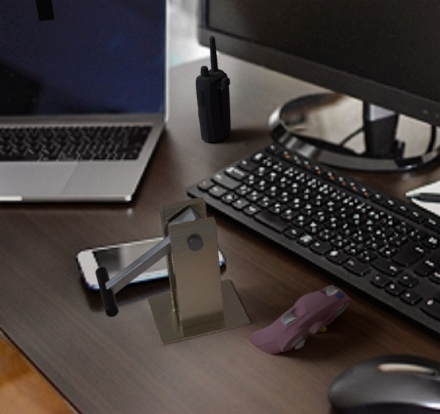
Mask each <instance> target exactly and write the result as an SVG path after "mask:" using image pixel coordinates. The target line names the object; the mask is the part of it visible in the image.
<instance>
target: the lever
mask: <svg viewBox="0 0 440 414" xmlns="http://www.w3.org/2000/svg"><path fill="white" fill-rule="evenodd" d="M199 219H201V218H200V217H199V216H198V215H197V214H196V213H195V211H194V210H193V209H192V208H191V207H190V208H189V209H188V210H186V211H185V212H184V213H182V214H181V215H180V216H178V217H177V218H176V219H174V220H173V221H172V222H170V223H169V224H168V226H169V225H174V224H179V223H184V222H189V221H194V220H199ZM170 252H171V248H170V240H169V235H168V236H167V237H166V238H164V239H163V238H162V240H161V241H159V242H157V243H156V244H155V245H154V246H153V247H151V248H150V249H148V250H147V251H146V252H144V253H143V254H142V255H140V256H139V257H138V258H137V259H135V260H134V261H133V262H132V263H130V264H129V265H127V266H126V267H125V268H123V269H122V270H120V271H119V272H118V273H117V274H115V275H114V276H113V277H110V275H109V274H110V273H109V271H108V268H107V267H106V266H99V267H97V268H96V269H95V273H94V274H95V277H96V281H97V285H98V289H99V293H100V298H101V301H102V304H103V308H104V309H103V310H104V312H105V315H106V316H107V317H108V318H114V317H116V316H118V314H119V313H120V311H119V306H118V302H117V300H116V296H115V295H116V294H117V293H118V292H119V291H121V290H122V289H123V288H124V287H126V286H127V285H129V284H130V283H131V282H132V281H134V280H135V279H136V278H138V277H139V276H141V275H142V274H143V273H145V272H146V271H147V270H149V269H150V268H151V267H152V266H154V265H155V264H156V263H158V262H159V261H160V260H162V259H163V258H164V257H166V255H167V254H168V253H170Z"/></svg>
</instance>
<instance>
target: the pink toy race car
mask: <svg viewBox="0 0 440 414" xmlns="http://www.w3.org/2000/svg"><path fill="white" fill-rule="evenodd" d="M351 303H352V299H351V297H349V295H348V294H347V293H346V292H345V291H344V290H343V289H342V288H339V287H337V286H335V285H334V284H330V285H327V286H326V287H324V288H322V289H319V290H317V291H314V292H313V291H312V292H309V293H306V294H303V295H301V297H299V299H297V300H296V302H295V303H294V305H293V306H292V307H290V308H289V309H288V310H287V311H285V312H284V313H282V314H281V315H280V316H279V317H278V318H277V319H275V321H273V322H272V323H271V324H270V325H268V326H266V327H263V328H259V329H257V330H255V331H253V333H252V334H251V336H250V342H251V344H252V346H254V347H255V348H256V349H257V350H259V351H261V352H263V353H265V354H268V355H276V354H280V353H281V352H282V353H285V352H289V351H292V350H293V349H294V350H299V349H301V348H302V347H303V346H304V345H305V342H306V340H308V338H309V335H308V333H309V332H310V333H311V334H313V335H315V334H317V333H318V332H320V333H324V332H326V331H327V329H328V328H327V326H329V325H330V324H332V322H334V321H335V319H337V318H338V317H339V316H340V315H341V314H342V313H343V312H345V311H346V310H347V309H348V308H349V306H350V305H351Z"/></svg>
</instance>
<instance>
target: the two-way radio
mask: <svg viewBox="0 0 440 414" xmlns="http://www.w3.org/2000/svg"><path fill="white" fill-rule="evenodd" d="M209 59H210V60H209V61H210V69H209V67H208V66H207V65H201V66H200V74H199V75H197V76H196V78H195V91H196V92H195V94H196V103H197V116H198V122H199V128H200V129H199V131H200V138H201V140H202V141H203V142H206V143H213V144H214V143H215V142H220V141H221V140H223V139H224V138H226V137H228V136H229V135H230V134H231V133H232V118H231V117H232V115H231V95H230V94H231V92H230V85H231V79H230V77H229V76H228V73H226V72H225V71H224V70H223V69H219V62H218V51H217V42H216V37H215V36H214V35H210V36H209Z"/></svg>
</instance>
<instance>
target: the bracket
mask: <svg viewBox="0 0 440 414" xmlns="http://www.w3.org/2000/svg"><path fill="white" fill-rule="evenodd" d="M158 207H159V215H160V223H161V231H162V240H163V239H164V238H166V237H167V236H168V235H169V240H170V248H171V252H170V253H168V254H167V255H166V256H165V262H166V271H167V278H168V286H169V292H164V293H160V294H155V295H151V296H146V301H147V304H148V307H149V310H150V313H151V317H152V319H153V323H154V326H155V328H156V331H157V334H158V337H159V340H160V344H161V345H162V346H165V345H170V344H173V343H178V342H182V341H186V340H190V339H195V338H199V337H203V336H208V335H211V334H215V333H220V332H223V331H227V330H232V329H236V328H240V327H244V326H248V325H251V321H250V319H249V316H248V315H247V313H246V310H245V308H244V306H243V305H242V302H241V301H240V298H239V296H238V294H237V292H236V291H235V287H234V286H233V284H232V282H231V280H230V278H227V279H222V275H221V265H220V264H221V262H220V251H219V242H218V241H219V240H218V229H217V228H218V227H217V221H216V219H215V216H209V217H208V214H207V203H206V199H205V198H204V196H201V197H195V198H190V199H185V200H180V201H179V200H178V201H175V202H170V203H164V204H160V205H159V206H158ZM190 207H191V208H192V209H193V210H194V211H195V213H196V214H197V215H198V216H199V217H200V218H201V219H199V220H194V221H189V222H184V223H179V224H174V225H169V226H168V224H169V223H170V222H172V221H173V220H174V219H176V218H177V217H178V216H180V215H181V214H182V213H184V212H185V211H186V210H188V209H189V208H190Z"/></svg>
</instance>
